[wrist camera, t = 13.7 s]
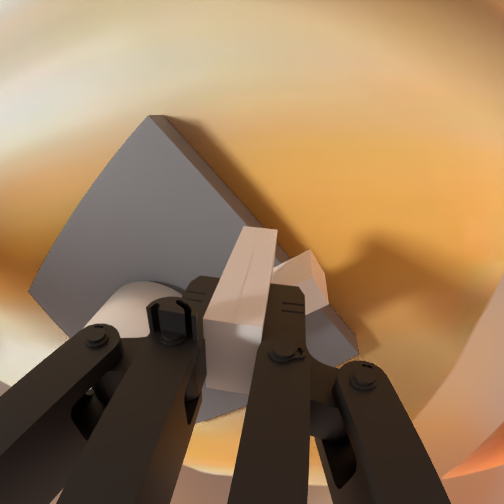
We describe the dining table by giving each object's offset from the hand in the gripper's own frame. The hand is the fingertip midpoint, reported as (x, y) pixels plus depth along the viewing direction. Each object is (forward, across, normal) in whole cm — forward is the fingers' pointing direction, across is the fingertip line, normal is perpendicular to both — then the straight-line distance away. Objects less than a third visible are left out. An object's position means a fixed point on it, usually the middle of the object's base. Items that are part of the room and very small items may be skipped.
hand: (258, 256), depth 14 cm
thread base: (+5, -7, -8) cm, 12 cm away
